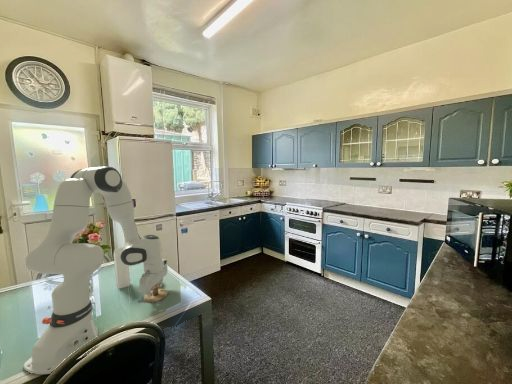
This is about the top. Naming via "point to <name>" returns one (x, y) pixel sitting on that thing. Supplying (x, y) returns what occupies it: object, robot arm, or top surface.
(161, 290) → the lid
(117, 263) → the milk
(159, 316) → the top surface
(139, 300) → the mat
